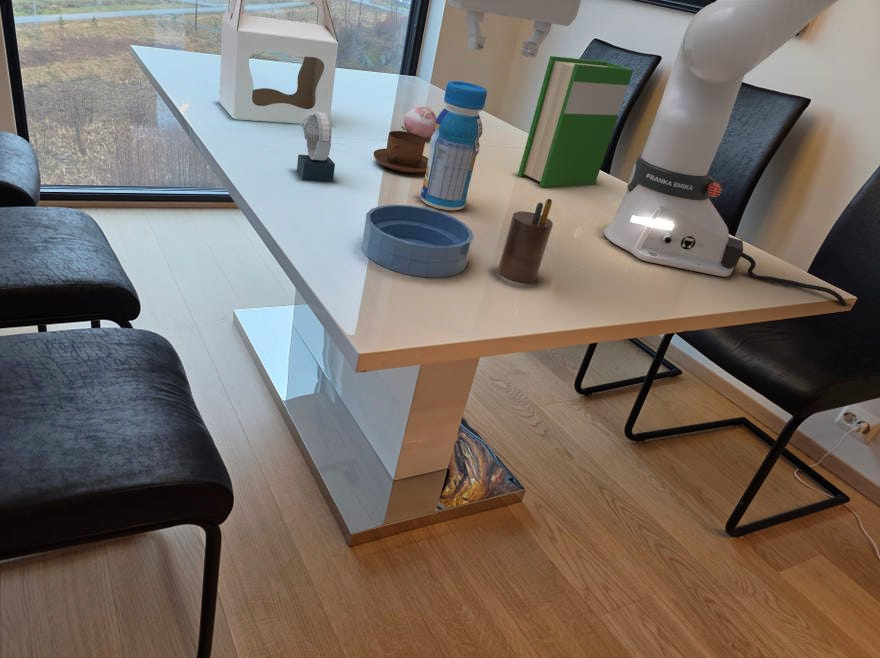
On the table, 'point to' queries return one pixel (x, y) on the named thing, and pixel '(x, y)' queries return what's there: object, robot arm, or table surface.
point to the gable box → (281, 37)
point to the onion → (420, 122)
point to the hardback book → (574, 121)
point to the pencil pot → (526, 244)
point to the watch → (316, 148)
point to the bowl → (416, 241)
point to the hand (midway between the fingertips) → (502, 53)
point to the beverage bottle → (454, 146)
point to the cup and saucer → (403, 152)
